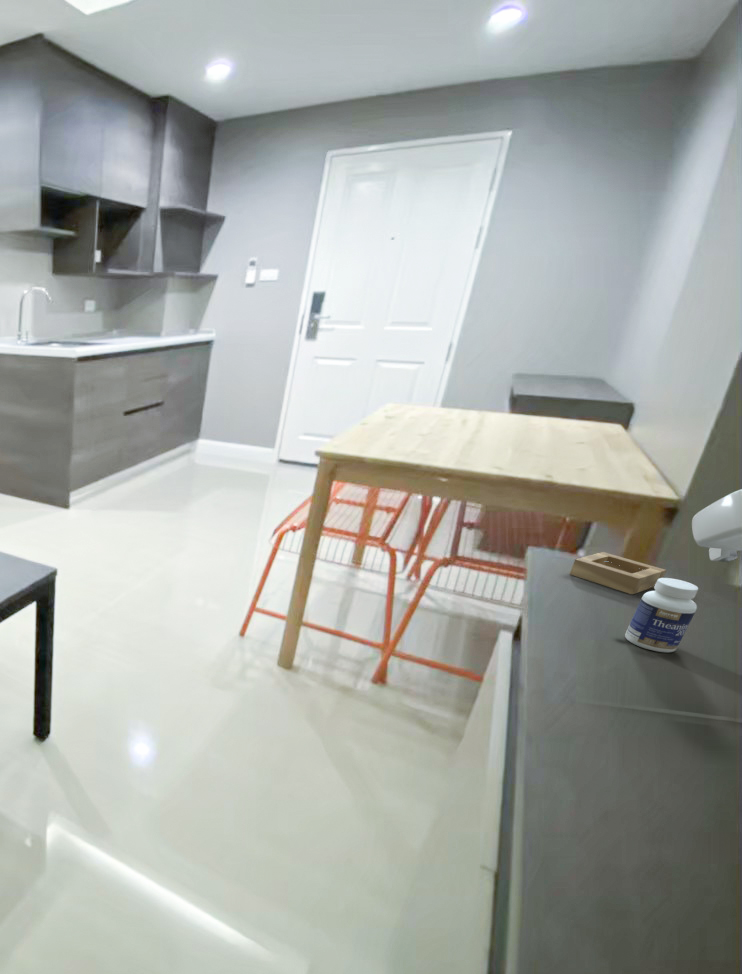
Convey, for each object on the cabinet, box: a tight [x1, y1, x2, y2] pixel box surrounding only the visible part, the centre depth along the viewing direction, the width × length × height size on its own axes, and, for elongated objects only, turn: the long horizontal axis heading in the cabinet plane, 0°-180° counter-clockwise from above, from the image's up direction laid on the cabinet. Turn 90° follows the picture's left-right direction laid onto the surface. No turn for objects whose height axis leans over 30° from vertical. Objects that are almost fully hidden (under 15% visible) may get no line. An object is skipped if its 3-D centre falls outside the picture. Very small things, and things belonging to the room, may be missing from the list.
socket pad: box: [569, 551, 667, 595], centre depth 108 cm, size 9×9×3 cm
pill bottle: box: [624, 577, 699, 653], centre depth 86 cm, size 5×5×10 cm
